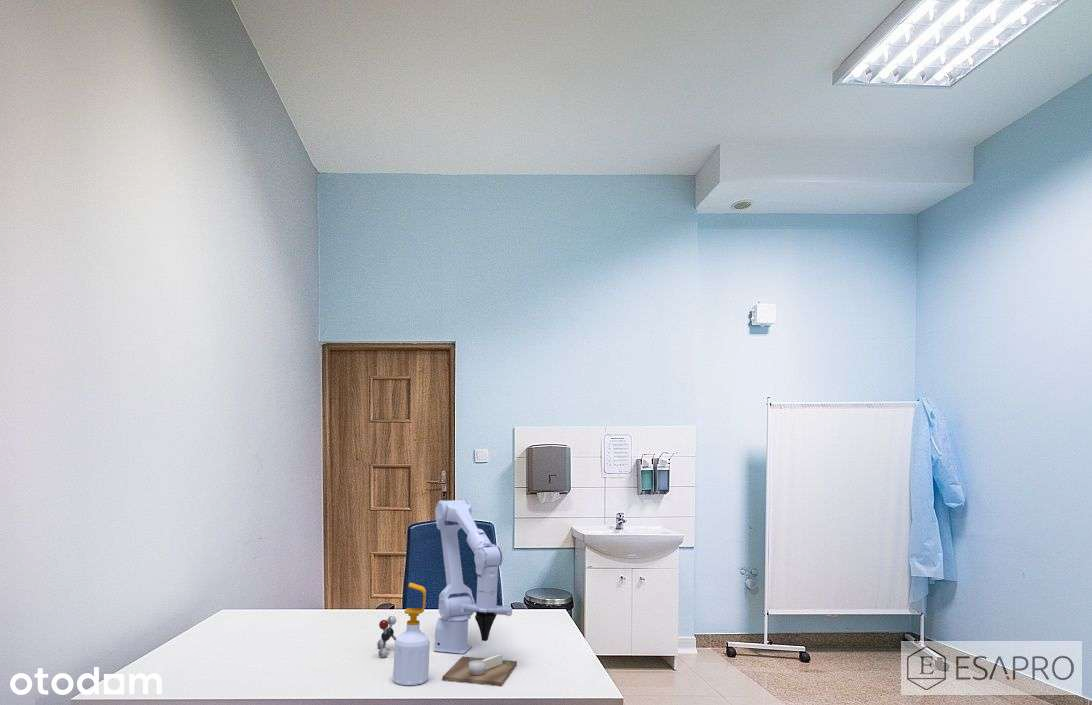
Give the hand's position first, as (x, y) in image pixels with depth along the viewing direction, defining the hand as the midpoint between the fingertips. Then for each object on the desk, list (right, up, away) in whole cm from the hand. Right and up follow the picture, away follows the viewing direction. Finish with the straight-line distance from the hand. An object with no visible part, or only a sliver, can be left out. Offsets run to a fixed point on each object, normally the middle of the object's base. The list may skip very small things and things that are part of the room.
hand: (484, 640), depth 205 cm
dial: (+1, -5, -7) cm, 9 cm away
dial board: (-1, -6, -6) cm, 9 cm away
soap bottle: (-18, -5, -14) cm, 24 cm away
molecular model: (-29, -7, +8) cm, 32 cm away
